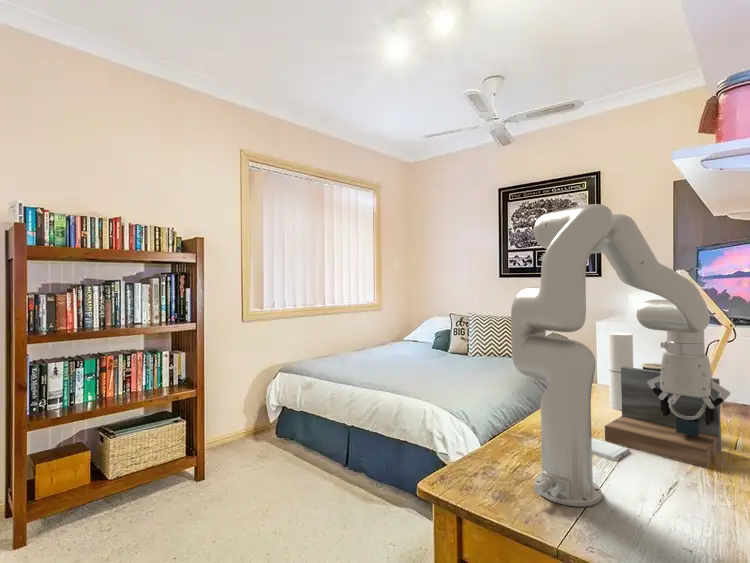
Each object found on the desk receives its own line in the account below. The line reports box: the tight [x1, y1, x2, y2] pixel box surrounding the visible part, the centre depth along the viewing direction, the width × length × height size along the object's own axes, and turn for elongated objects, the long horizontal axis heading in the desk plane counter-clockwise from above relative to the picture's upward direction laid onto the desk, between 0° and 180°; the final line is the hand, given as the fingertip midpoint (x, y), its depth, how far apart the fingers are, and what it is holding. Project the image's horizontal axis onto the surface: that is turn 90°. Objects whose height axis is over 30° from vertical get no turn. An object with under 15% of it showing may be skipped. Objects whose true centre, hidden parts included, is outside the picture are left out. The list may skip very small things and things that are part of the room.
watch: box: [667, 394, 707, 436], centre depth 104 cm, size 6×8×11 cm
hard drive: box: [592, 437, 631, 462], centre depth 108 cm, size 2×8×12 cm
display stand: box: [604, 367, 722, 468], centre depth 109 cm, size 14×22×18 cm, turn 40°
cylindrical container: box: [607, 331, 634, 412], centre depth 141 cm, size 7×7×25 cm
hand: (687, 418), depth 104 cm, fingers closed on watch, 8 cm apart
